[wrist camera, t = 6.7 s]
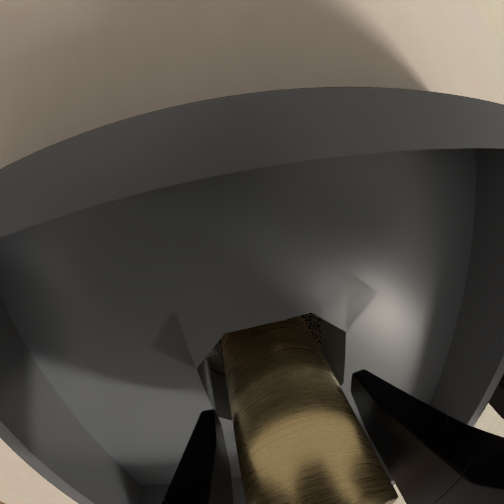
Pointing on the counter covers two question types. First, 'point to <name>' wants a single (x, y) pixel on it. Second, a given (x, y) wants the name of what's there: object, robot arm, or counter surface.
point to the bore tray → (243, 268)
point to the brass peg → (296, 422)
